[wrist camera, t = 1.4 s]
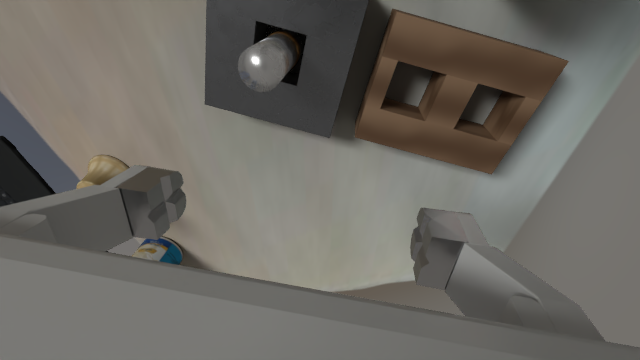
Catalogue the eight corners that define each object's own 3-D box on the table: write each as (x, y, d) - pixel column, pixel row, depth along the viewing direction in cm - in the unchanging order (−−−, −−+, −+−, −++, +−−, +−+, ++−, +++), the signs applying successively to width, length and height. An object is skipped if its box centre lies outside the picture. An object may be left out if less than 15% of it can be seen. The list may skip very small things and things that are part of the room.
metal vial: (272, 24, 35) (238, 38, 25) (306, 33, 36) (286, 52, 26) (268, 59, 38) (235, 86, 28) (299, 68, 38) (278, 98, 28)
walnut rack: (392, 8, 33) (397, 11, 29) (543, 52, 34) (568, 61, 30) (355, 121, 41) (354, 137, 37) (478, 155, 42) (491, 174, 37)
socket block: (227, -51, 32) (207, -57, 28) (369, -10, 33) (371, -9, 28) (220, 92, 41) (204, 104, 37) (332, 122, 41) (329, 138, 37)
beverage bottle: (172, 268, 64) (105, 368, 47) (136, 246, 61) (53, 344, 44) (192, 252, 60) (128, 354, 43) (155, 227, 57) (72, 326, 40)
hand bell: (79, 167, 51) (-19, 230, 38) (107, 146, 48) (11, 207, 35) (118, 201, 55) (41, 270, 41) (147, 184, 51) (73, 252, 38)
